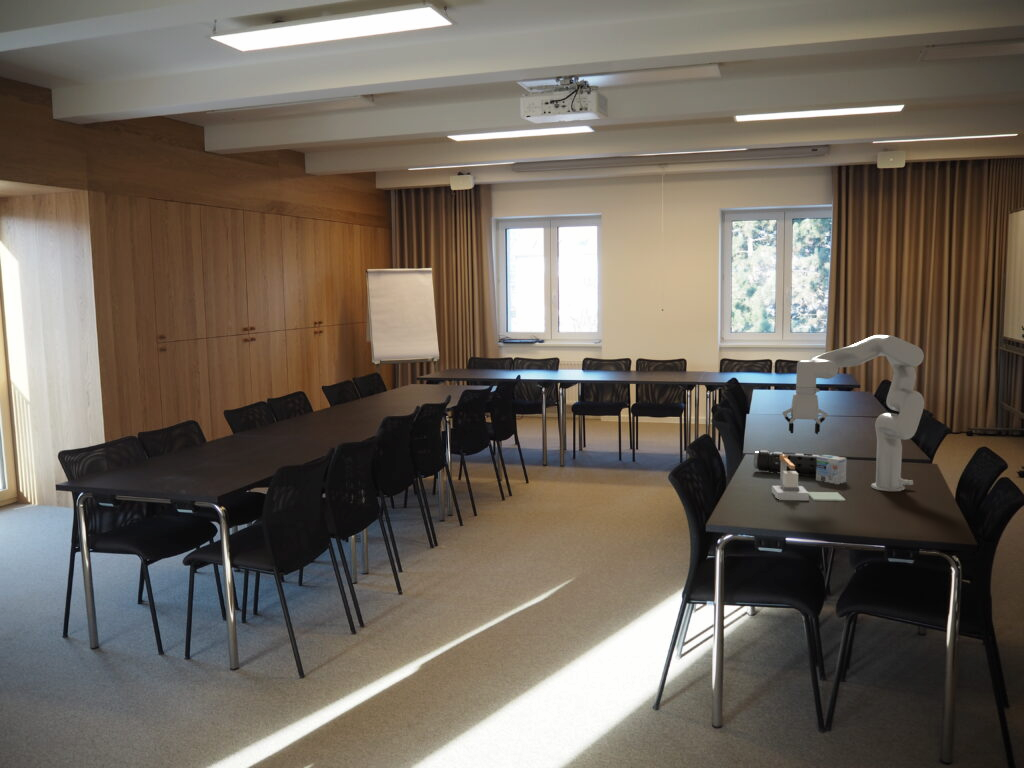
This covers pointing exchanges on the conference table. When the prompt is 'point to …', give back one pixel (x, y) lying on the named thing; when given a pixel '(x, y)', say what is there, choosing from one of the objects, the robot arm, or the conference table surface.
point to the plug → (790, 481)
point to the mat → (826, 496)
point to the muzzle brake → (802, 462)
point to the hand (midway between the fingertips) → (804, 433)
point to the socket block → (789, 495)
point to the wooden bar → (787, 461)
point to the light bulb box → (831, 469)
